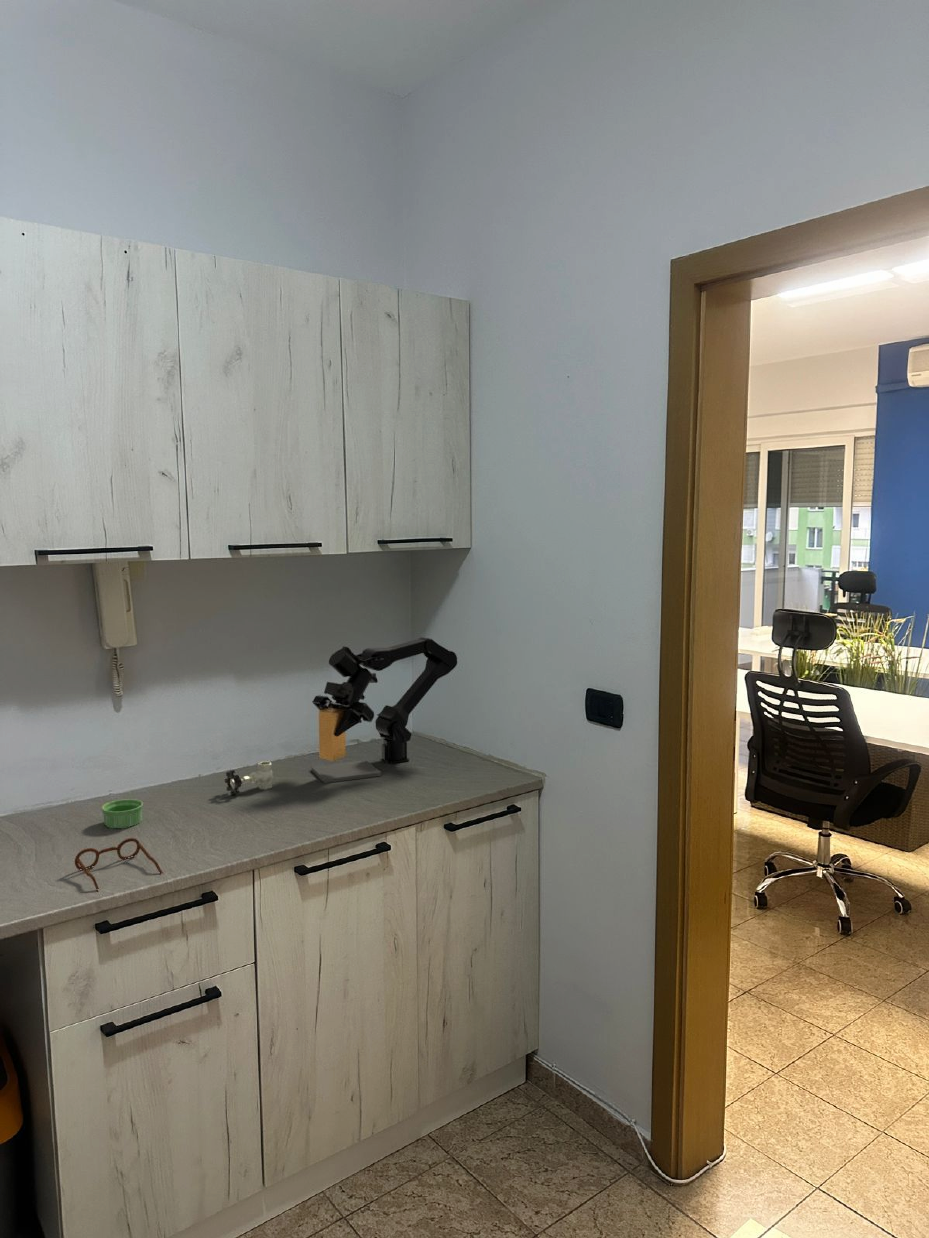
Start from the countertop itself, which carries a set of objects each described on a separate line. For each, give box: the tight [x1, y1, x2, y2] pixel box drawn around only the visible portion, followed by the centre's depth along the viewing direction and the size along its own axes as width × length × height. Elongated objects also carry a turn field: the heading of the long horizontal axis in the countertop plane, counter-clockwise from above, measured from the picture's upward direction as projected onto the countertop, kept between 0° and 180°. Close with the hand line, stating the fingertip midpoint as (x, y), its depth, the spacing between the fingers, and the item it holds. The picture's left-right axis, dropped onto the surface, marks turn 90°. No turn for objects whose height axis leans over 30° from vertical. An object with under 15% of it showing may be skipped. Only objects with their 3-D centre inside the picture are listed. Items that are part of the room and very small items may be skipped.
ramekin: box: [101, 798, 144, 829], centre depth 207 cm, size 9×9×4 cm
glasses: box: [74, 837, 164, 890], centre depth 179 cm, size 13×13×5 cm
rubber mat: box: [310, 759, 382, 784], centre depth 247 cm, size 16×13×1 cm
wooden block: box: [318, 707, 346, 762], centre depth 242 cm, size 5×5×13 cm
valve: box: [224, 761, 274, 796], centre depth 231 cm, size 7×7×12 cm
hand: (328, 734), depth 241 cm, fingers closed on wooden block, 5 cm apart
